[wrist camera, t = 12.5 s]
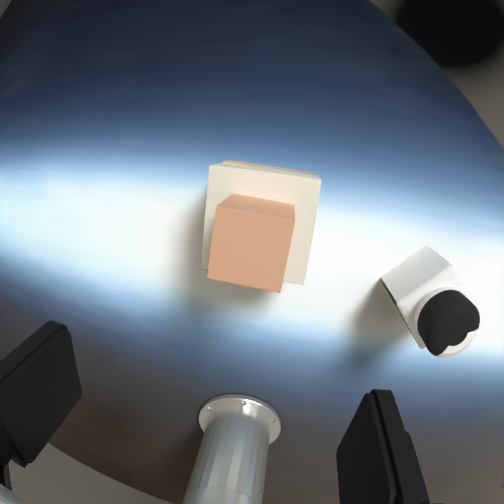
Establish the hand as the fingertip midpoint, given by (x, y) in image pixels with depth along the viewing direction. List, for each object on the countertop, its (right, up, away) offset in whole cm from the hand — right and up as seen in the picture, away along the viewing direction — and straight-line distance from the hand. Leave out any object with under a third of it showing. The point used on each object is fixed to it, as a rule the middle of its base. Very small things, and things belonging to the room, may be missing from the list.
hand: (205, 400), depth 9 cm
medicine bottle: (+21, +1, +27) cm, 34 cm away
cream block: (+2, +8, +22) cm, 23 cm away
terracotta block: (+2, +6, +18) cm, 19 cm away
